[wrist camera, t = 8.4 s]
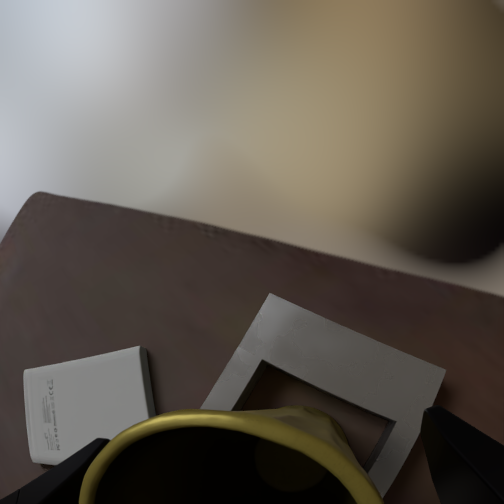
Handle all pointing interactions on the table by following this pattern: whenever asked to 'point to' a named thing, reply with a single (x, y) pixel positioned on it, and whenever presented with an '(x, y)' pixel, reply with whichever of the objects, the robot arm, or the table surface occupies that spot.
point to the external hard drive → (85, 402)
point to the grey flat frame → (335, 376)
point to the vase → (230, 461)
